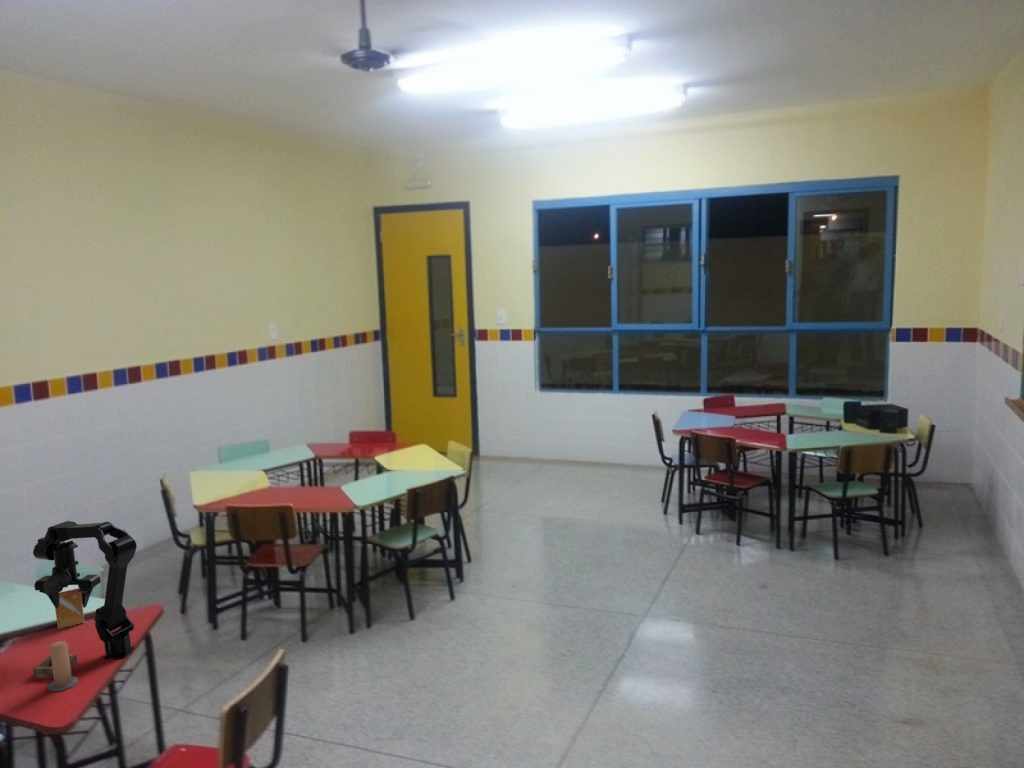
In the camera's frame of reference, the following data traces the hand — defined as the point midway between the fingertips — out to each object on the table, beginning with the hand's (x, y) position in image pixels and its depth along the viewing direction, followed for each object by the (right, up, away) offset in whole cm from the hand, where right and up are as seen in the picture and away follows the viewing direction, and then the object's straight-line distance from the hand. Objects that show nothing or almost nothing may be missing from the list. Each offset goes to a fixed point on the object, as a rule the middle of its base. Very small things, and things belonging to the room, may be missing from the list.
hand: (71, 607), depth 244 cm
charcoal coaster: (+11, -16, -22) cm, 30 cm away
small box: (-11, -11, +18) cm, 24 cm away
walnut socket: (+4, -15, -14) cm, 21 cm away
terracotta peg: (+11, -16, -22) cm, 29 cm away
